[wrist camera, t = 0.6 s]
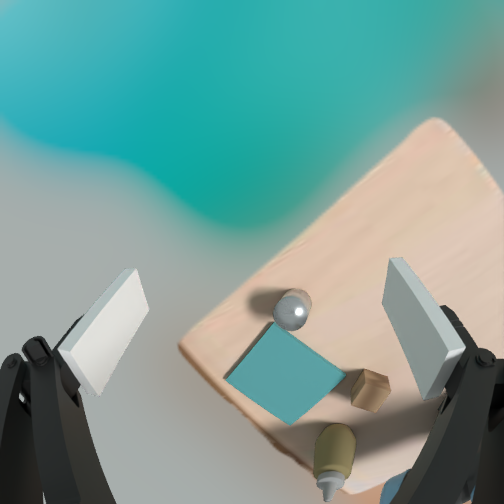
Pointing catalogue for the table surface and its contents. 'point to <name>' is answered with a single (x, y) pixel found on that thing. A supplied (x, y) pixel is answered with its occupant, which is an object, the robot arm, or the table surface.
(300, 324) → the grey metal tin
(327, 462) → the squeeze bottle
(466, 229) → the table surface
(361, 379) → the walnut block
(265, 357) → the teal mat
